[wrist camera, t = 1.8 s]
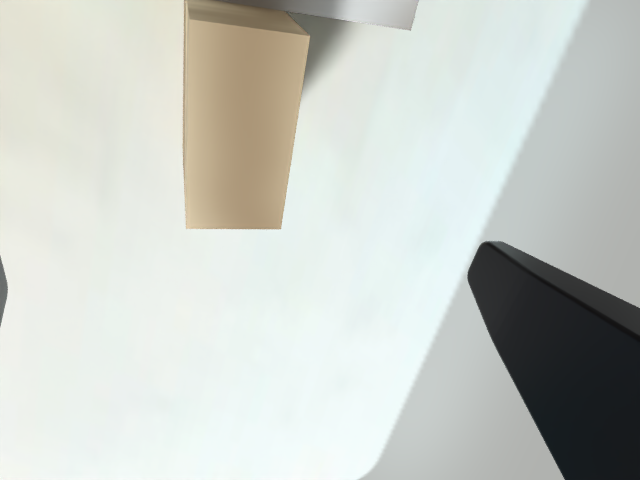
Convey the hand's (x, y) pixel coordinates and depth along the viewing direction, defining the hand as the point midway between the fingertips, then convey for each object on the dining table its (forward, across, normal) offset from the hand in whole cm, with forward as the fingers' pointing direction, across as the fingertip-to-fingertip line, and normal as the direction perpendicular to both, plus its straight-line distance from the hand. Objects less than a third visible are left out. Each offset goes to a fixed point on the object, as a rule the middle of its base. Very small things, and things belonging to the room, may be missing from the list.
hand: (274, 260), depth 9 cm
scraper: (+12, 0, 0) cm, 12 cm away
